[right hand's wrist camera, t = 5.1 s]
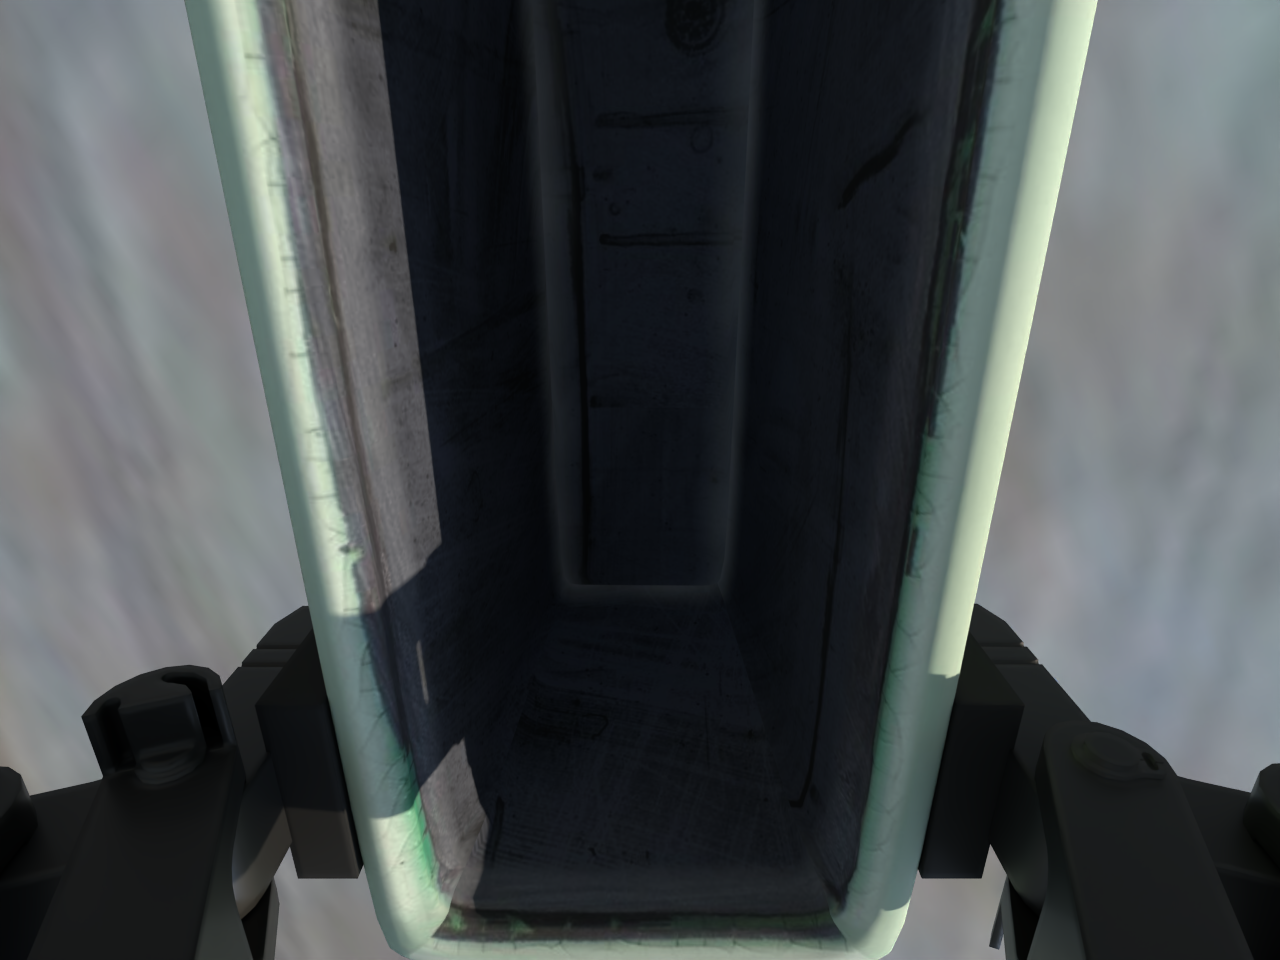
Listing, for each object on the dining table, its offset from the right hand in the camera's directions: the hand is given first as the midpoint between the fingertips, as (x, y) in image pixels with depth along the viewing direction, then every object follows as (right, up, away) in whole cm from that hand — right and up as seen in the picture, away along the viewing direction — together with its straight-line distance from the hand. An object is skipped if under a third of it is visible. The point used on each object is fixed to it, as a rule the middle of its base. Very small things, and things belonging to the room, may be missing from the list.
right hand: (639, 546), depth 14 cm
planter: (0, +10, -3) cm, 11 cm away
